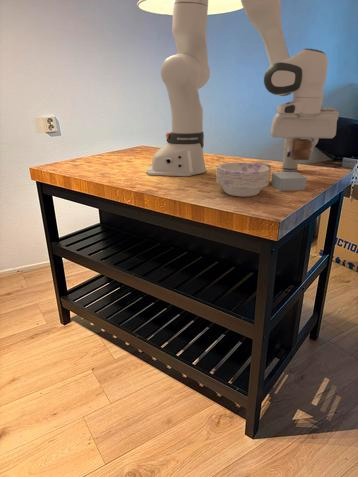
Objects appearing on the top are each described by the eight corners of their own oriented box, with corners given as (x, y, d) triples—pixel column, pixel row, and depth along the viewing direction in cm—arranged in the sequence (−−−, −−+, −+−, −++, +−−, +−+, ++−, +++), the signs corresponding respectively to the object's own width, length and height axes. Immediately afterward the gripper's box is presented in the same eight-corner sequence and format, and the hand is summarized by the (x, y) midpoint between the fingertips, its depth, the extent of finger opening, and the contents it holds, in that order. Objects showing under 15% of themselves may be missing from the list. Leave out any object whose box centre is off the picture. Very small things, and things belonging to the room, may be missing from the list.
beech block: (254, 184, 114) (256, 166, 112) (248, 180, 119) (249, 163, 116) (269, 183, 115) (270, 165, 113) (262, 179, 120) (264, 162, 117)
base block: (279, 191, 107) (280, 178, 106) (271, 184, 115) (272, 172, 113) (305, 190, 108) (306, 177, 106) (295, 184, 115) (296, 171, 114)
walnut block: (293, 159, 115) (295, 140, 113) (289, 156, 120) (292, 138, 117) (308, 160, 115) (311, 141, 113) (304, 157, 120) (307, 138, 117)
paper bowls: (266, 186, 112) (268, 161, 108) (269, 201, 98) (271, 172, 95) (217, 185, 114) (218, 160, 111) (214, 199, 100) (214, 171, 97)
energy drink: (297, 172, 129) (301, 138, 124) (282, 171, 130) (285, 138, 125) (296, 169, 134) (299, 136, 129) (281, 168, 135) (284, 136, 130)
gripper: (336, 106, 114) (328, 150, 119) (272, 106, 114) (267, 149, 120) (343, 108, 108) (335, 154, 113) (276, 107, 109) (271, 153, 114)
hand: (299, 151), depth 117 cm, fingers closed on walnut block, 5 cm apart
